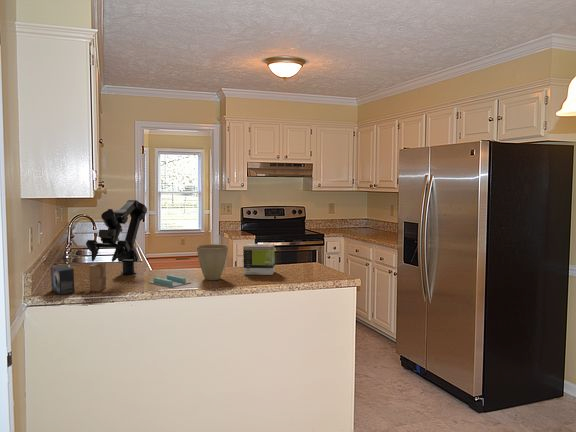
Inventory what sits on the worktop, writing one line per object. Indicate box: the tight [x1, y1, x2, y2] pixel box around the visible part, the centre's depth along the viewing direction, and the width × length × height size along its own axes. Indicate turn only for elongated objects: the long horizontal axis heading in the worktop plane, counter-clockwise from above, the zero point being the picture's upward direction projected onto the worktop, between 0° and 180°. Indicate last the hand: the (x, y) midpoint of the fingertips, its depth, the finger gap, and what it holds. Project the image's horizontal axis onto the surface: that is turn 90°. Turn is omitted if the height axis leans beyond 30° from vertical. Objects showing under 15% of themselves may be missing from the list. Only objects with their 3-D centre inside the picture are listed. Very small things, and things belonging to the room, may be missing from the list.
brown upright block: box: [88, 262, 107, 292], centre depth 213 cm, size 7×4×11 cm, turn 176°
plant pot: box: [196, 243, 229, 281], centre depth 236 cm, size 15×15×16 cm
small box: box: [50, 264, 76, 296], centre depth 208 cm, size 11×6×10 cm, turn 45°
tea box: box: [242, 243, 276, 276], centre depth 250 cm, size 15×10×15 cm, turn 84°
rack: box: [147, 274, 192, 289], centre depth 226 cm, size 16×12×2 cm
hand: (102, 261), depth 217 cm, fingers open, 9 cm apart
